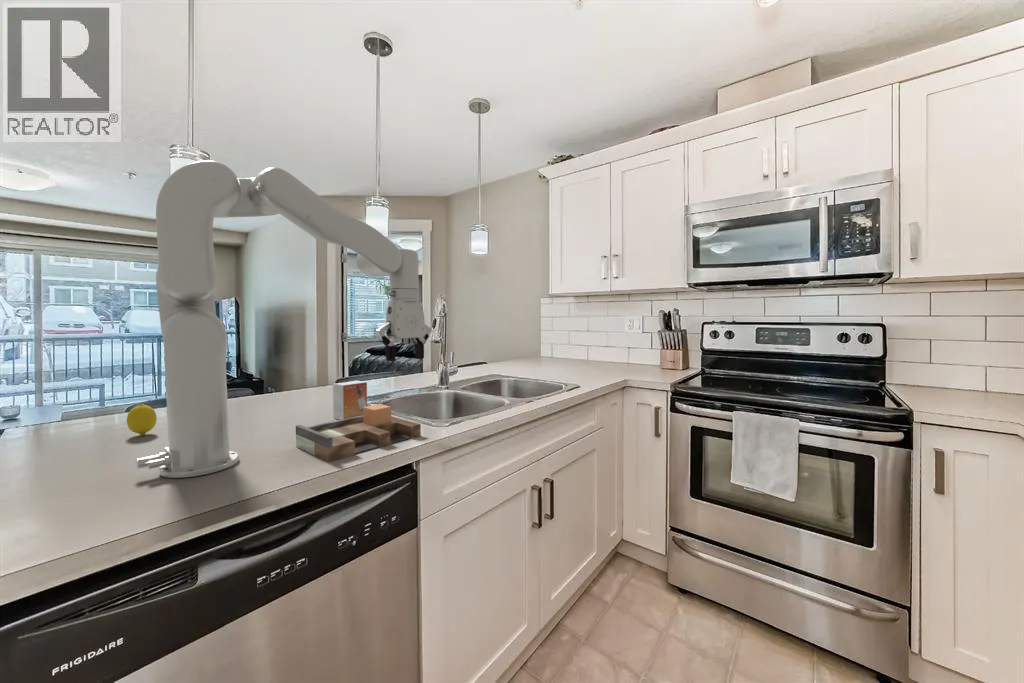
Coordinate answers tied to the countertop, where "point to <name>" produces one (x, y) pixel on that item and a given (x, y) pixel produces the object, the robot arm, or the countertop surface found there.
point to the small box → (349, 399)
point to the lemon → (141, 419)
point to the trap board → (352, 436)
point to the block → (376, 414)
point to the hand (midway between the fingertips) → (405, 359)
